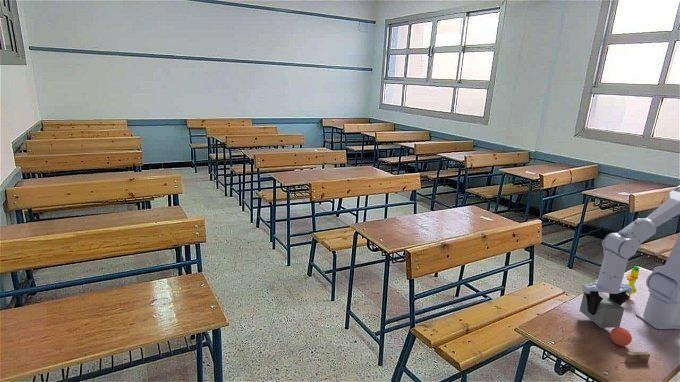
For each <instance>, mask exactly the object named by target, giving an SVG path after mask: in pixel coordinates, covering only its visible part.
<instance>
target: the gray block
mask: <svg viewBox="0 0 680 382" xmlns="http://www.w3.org/2000/svg"><path fill="white" fill-rule="evenodd" d="M582 294H583V295H582V297H581V303H580V307H579V310H578V311H579V312H580V313H582V314H583V316H585V317H587V319H589V320H590V321H592V322H593V323H594V324H595V325H597V326H598V327H599V328H600V329H602V328H603V329H606V328H607V329H610V328H612V329H614V328H616V327H621V324H622V319H623V315H624V312H625V309H626V308H624V307H623V306H622V305H621V306H620V305H619V304H617V303H616V302H614V301H613V300H611V299H610V298H609V296H607V295H606V294H604V292H599V293H598V294H599V296H600V297H602V298H603V300H602V301H601V302H600V303H599V305H598V307H597V310H596V313H595V314H594V315H592V314H590V313H589V312H588V309H587V299H586V296H585V293H584V292H583V293H582Z"/></svg>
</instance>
